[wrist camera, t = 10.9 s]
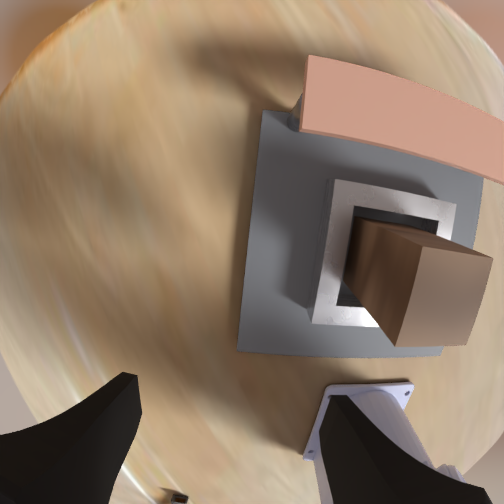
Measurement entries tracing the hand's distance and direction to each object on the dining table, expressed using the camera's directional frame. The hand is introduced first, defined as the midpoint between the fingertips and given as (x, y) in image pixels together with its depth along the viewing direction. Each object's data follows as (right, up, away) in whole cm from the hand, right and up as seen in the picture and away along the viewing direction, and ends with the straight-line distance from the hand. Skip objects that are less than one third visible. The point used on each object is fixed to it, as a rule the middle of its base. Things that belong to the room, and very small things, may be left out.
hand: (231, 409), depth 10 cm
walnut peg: (+8, +6, +8) cm, 13 cm away
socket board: (+8, +6, +9) cm, 14 cm away
